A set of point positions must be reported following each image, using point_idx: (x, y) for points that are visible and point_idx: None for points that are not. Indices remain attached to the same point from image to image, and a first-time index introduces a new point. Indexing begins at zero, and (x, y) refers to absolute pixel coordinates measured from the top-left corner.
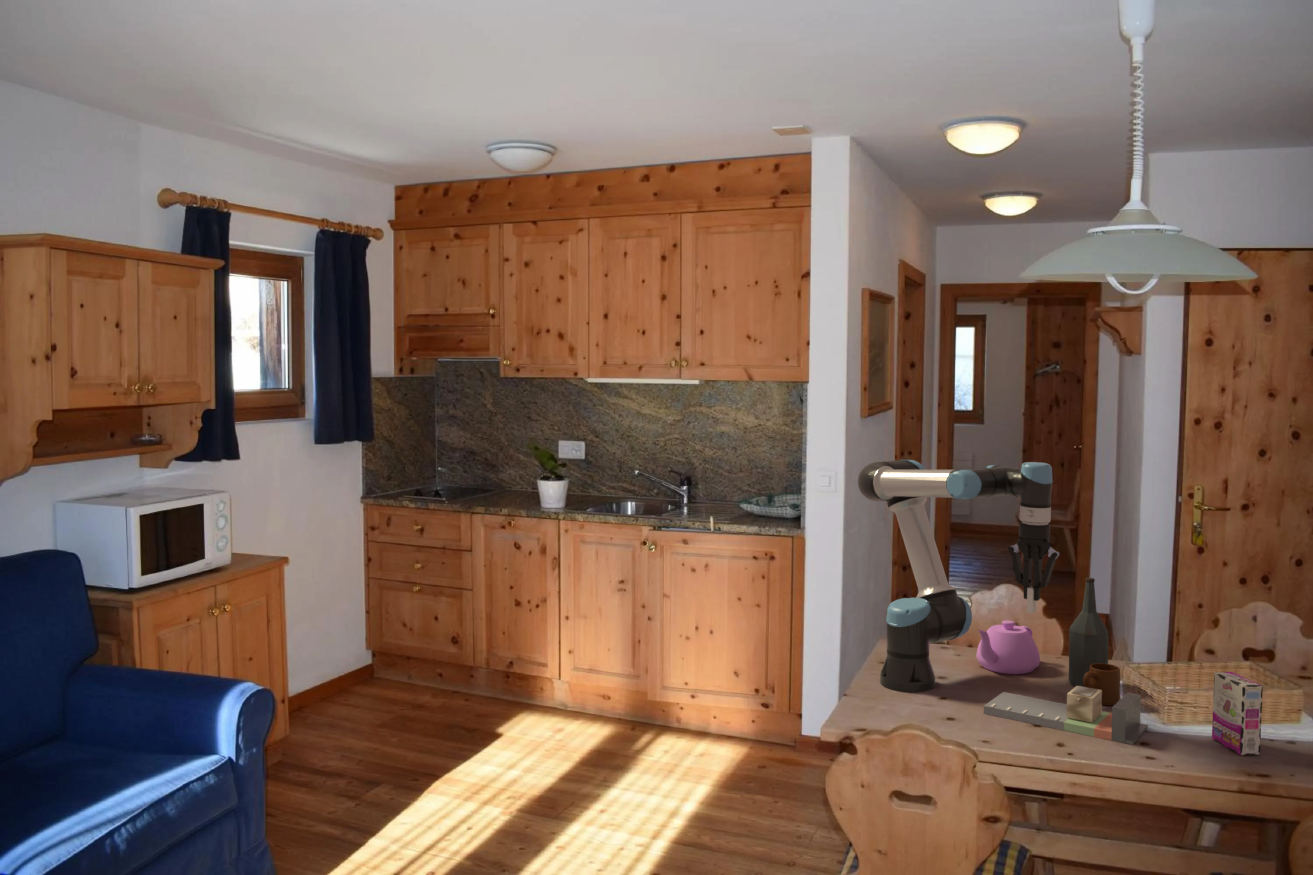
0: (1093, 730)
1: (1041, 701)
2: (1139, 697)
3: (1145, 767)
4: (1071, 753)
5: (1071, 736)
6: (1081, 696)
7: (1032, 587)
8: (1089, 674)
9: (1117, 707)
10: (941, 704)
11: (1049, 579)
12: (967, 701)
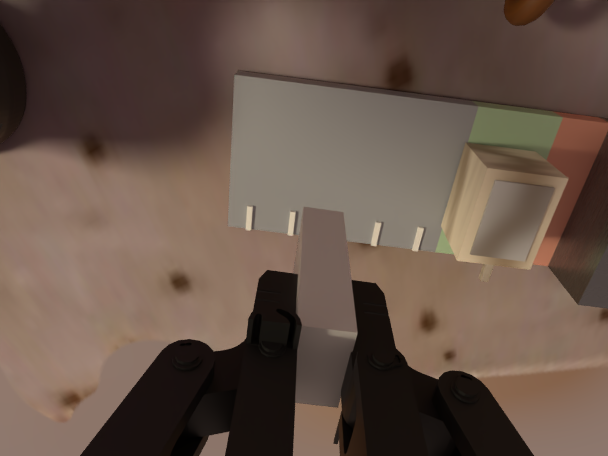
0: None
1: (360, 112)
2: None
3: (589, 360)
4: (452, 353)
5: (449, 270)
6: (498, 265)
7: (335, 435)
8: (542, 12)
9: (592, 299)
10: (116, 200)
11: (521, 453)
12: (160, 144)
